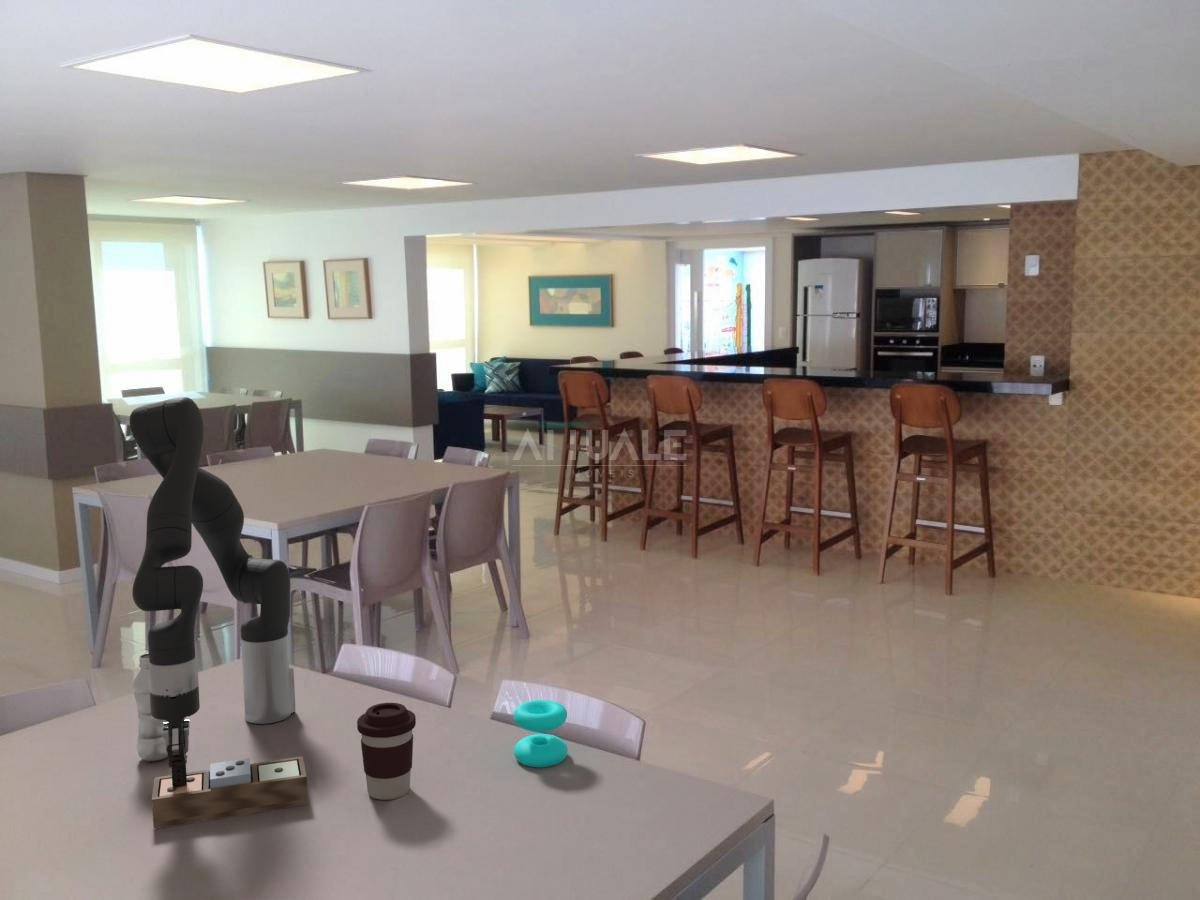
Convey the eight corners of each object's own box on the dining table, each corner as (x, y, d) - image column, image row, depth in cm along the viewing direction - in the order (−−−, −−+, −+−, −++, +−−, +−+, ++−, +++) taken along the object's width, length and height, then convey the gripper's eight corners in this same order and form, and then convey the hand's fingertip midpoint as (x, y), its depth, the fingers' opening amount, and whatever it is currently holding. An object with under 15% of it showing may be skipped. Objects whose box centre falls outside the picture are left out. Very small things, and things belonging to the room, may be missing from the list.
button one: (297, 776, 184) (296, 759, 183) (300, 792, 178) (299, 774, 177) (259, 782, 182) (258, 764, 181) (260, 798, 176) (259, 780, 175)
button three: (250, 774, 181) (249, 757, 180) (251, 790, 175) (250, 772, 174) (211, 780, 179) (210, 762, 178) (210, 796, 173) (209, 778, 172)
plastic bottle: (181, 751, 199) (175, 650, 196) (163, 766, 192) (157, 662, 190) (149, 749, 200) (143, 649, 197) (130, 765, 193) (123, 661, 190)
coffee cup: (428, 785, 184) (426, 703, 182) (395, 809, 175) (392, 724, 173) (382, 774, 189) (380, 695, 186) (348, 798, 180) (344, 714, 178)
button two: (202, 790, 178) (201, 772, 178) (202, 807, 172) (201, 788, 172) (162, 796, 176) (161, 778, 176) (160, 813, 170) (159, 795, 170)
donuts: (575, 701, 197) (553, 720, 187) (576, 751, 198) (554, 773, 189) (527, 694, 200) (503, 713, 191) (528, 744, 202) (504, 764, 192)
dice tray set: (303, 783, 185) (302, 756, 185) (307, 804, 177) (306, 776, 177) (156, 805, 177) (154, 777, 177) (153, 828, 169) (151, 799, 169)
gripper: (151, 675, 177) (157, 772, 179) (146, 702, 164) (153, 806, 166) (199, 669, 179) (204, 765, 181) (197, 696, 167) (203, 798, 169)
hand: (179, 784), depth 174 cm, fingers closed
